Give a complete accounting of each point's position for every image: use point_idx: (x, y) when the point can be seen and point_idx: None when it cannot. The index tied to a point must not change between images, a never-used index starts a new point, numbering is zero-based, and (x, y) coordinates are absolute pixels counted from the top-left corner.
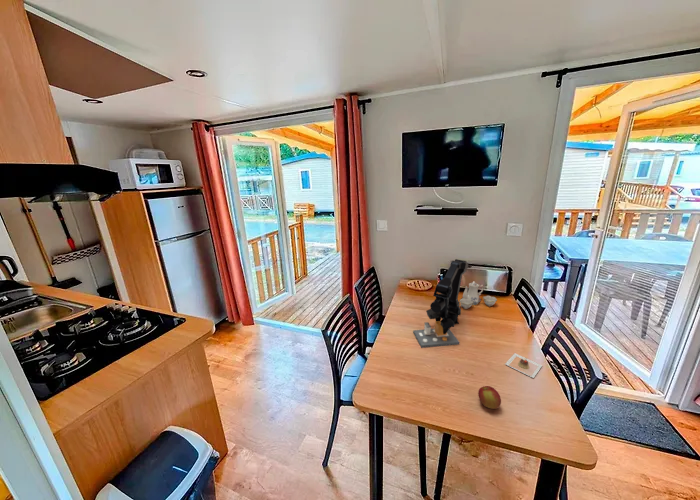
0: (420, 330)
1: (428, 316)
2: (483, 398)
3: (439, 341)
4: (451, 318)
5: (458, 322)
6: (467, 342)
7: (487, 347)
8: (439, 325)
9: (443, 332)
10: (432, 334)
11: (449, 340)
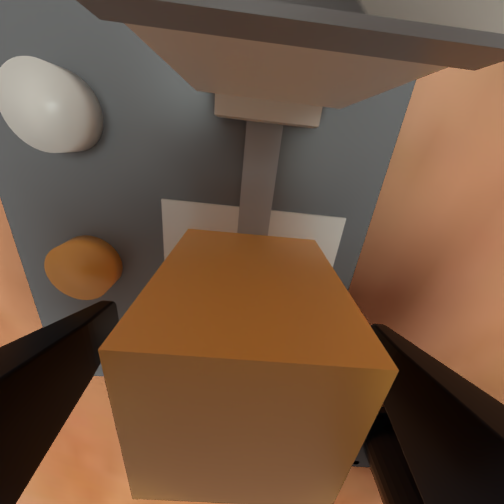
0: None
1: None
2: None
3: (46, 176)
4: (403, 489)
5: (356, 465)
6: (108, 407)
7: (54, 466)
8: (145, 380)
9: (60, 319)
10: (235, 161)
11: (81, 305)
